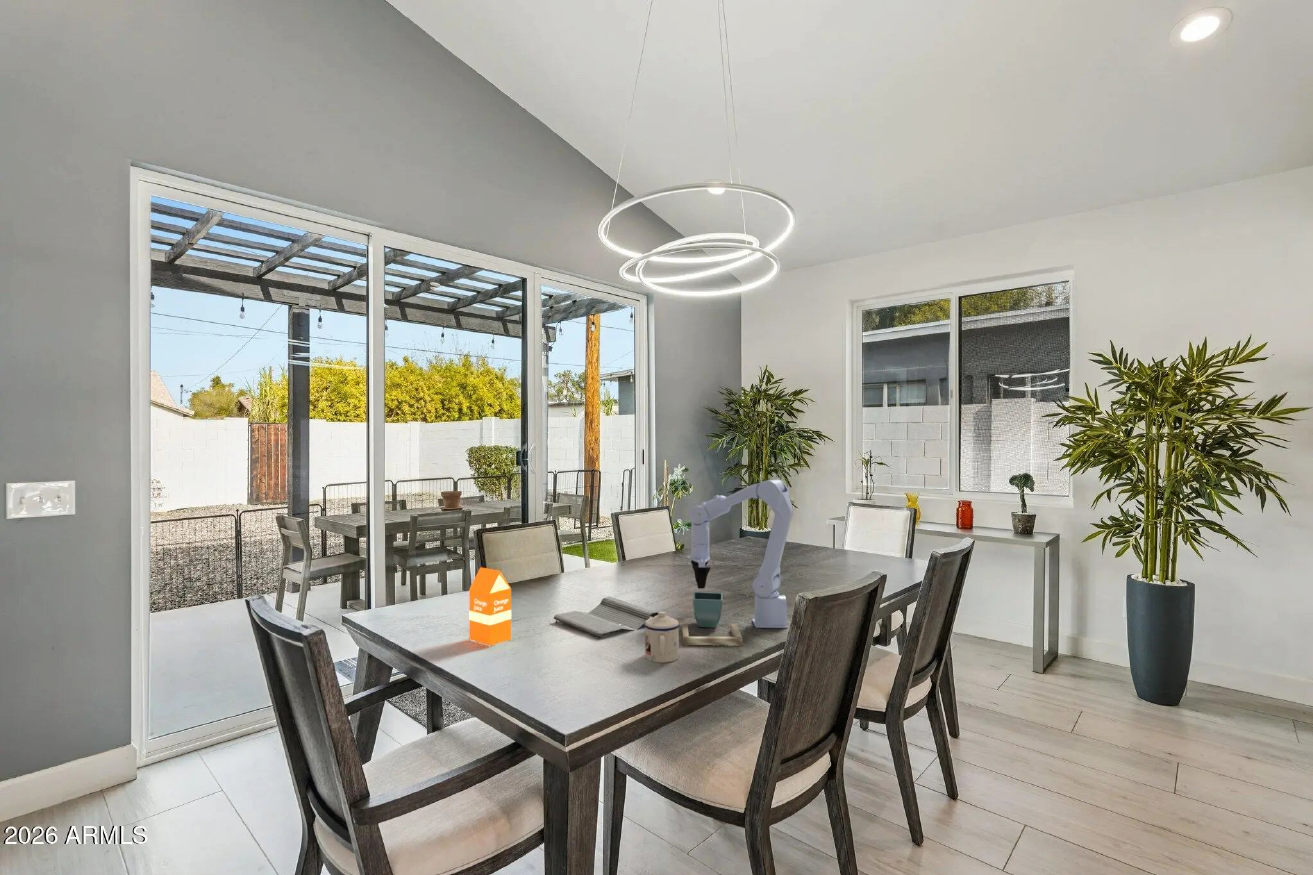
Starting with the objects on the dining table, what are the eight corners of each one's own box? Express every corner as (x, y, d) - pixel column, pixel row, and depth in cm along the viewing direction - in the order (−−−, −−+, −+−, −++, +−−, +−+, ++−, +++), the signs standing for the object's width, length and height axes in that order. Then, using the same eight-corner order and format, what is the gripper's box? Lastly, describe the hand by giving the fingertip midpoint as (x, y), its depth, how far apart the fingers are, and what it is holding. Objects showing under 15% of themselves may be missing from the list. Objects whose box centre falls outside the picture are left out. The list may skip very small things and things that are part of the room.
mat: (552, 624, 190) (552, 608, 190) (611, 609, 206) (611, 595, 206) (599, 642, 173) (600, 625, 173) (660, 625, 190) (660, 609, 190)
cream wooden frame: (736, 630, 183) (736, 623, 183) (742, 645, 169) (742, 638, 169) (682, 630, 183) (682, 623, 183) (683, 645, 169) (683, 638, 169)
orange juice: (491, 634, 179) (491, 565, 179) (511, 639, 174) (511, 568, 174) (468, 641, 172) (468, 569, 172) (489, 647, 167) (489, 573, 167)
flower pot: (722, 621, 192) (722, 592, 192) (722, 630, 183) (722, 599, 183) (694, 620, 192) (694, 591, 192) (692, 629, 184) (692, 599, 184)
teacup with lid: (644, 651, 165) (644, 607, 165) (678, 651, 165) (678, 607, 165) (643, 667, 153) (643, 620, 153) (680, 667, 153) (680, 620, 153)
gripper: (686, 539, 206) (686, 580, 206) (689, 546, 191) (689, 590, 191) (707, 539, 206) (707, 580, 206) (711, 546, 191) (712, 590, 191)
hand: (700, 585), depth 199 cm, fingers open, 7 cm apart
